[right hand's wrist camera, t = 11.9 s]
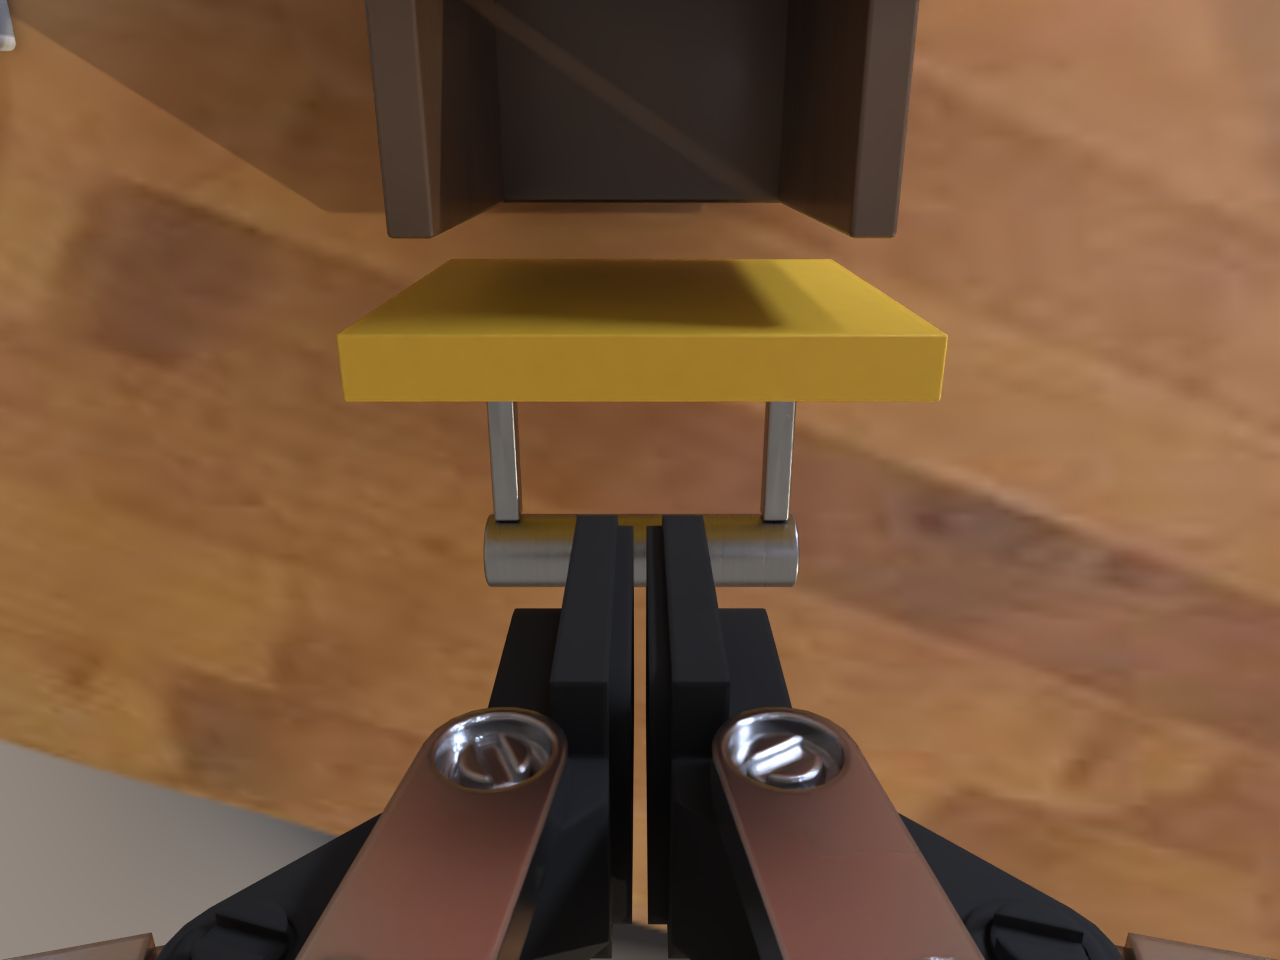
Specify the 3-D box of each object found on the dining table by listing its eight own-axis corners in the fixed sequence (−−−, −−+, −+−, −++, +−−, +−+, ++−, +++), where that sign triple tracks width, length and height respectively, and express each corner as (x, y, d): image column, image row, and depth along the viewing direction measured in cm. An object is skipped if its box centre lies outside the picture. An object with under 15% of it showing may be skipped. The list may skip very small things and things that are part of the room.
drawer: (814, 490, 27) (906, 677, 18) (466, 490, 27) (376, 677, 18) (881, -402, 20) (1099, -886, 10) (401, -402, 20) (186, -886, 10)
